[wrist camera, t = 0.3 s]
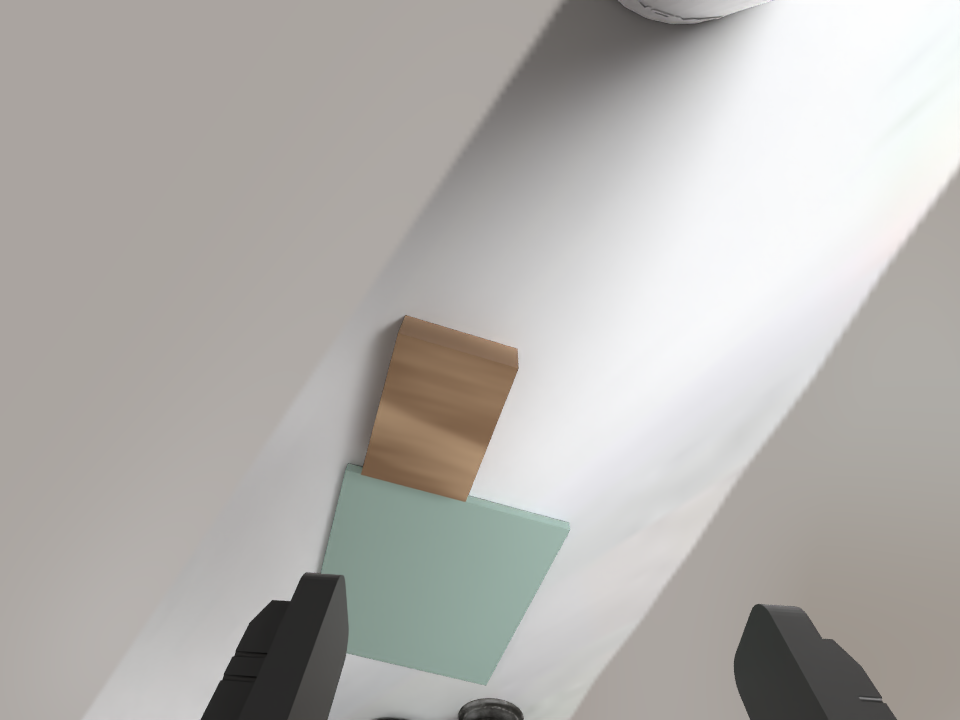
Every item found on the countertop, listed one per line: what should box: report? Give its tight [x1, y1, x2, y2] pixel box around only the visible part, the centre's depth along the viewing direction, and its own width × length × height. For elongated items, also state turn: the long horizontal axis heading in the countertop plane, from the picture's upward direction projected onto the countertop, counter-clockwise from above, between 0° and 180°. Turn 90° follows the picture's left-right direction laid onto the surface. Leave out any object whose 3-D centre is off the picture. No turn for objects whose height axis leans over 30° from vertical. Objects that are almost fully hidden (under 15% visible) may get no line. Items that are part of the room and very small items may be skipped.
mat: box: [321, 463, 570, 685], centre depth 35 cm, size 17×14×1 cm
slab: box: [361, 315, 518, 502], centre depth 28 cm, size 2×6×9 cm
